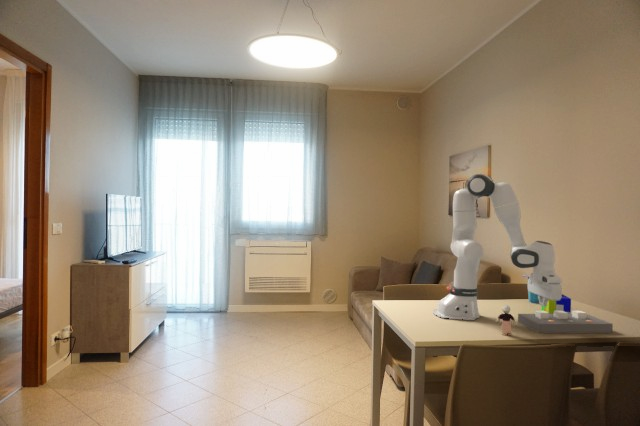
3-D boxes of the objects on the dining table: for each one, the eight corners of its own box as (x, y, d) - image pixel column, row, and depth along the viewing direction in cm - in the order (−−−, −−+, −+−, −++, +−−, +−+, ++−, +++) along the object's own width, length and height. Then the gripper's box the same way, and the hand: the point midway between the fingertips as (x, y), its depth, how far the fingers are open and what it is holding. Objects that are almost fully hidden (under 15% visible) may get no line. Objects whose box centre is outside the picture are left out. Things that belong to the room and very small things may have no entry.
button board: (538, 332, 172) (538, 323, 172) (517, 322, 188) (518, 313, 188) (612, 332, 174) (612, 323, 174) (585, 322, 190) (586, 313, 190)
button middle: (559, 319, 180) (559, 312, 180) (553, 316, 184) (553, 310, 184) (567, 319, 181) (567, 312, 181) (561, 316, 185) (561, 310, 185)
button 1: (540, 319, 180) (540, 312, 180) (535, 316, 184) (535, 310, 184) (548, 319, 180) (549, 312, 180) (543, 316, 184) (543, 310, 184)
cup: (517, 299, 234) (518, 274, 234) (526, 298, 237) (527, 273, 237) (539, 305, 221) (539, 278, 221) (548, 304, 224) (548, 278, 224)
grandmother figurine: (511, 333, 171) (512, 304, 171) (516, 336, 167) (517, 306, 167) (494, 333, 171) (495, 304, 170) (498, 335, 167) (499, 306, 166)
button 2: (578, 319, 181) (578, 312, 181) (572, 316, 185) (572, 310, 185) (586, 319, 181) (586, 313, 181) (580, 316, 185) (580, 310, 185)
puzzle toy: (570, 318, 195) (571, 298, 195) (548, 317, 197) (549, 297, 197) (562, 313, 205) (562, 294, 205) (541, 312, 207) (542, 293, 207)
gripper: (524, 272, 192) (523, 300, 192) (550, 280, 171) (550, 311, 172) (536, 272, 192) (536, 300, 192) (564, 280, 172) (564, 311, 172)
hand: (543, 305), depth 182 cm, fingers closed
